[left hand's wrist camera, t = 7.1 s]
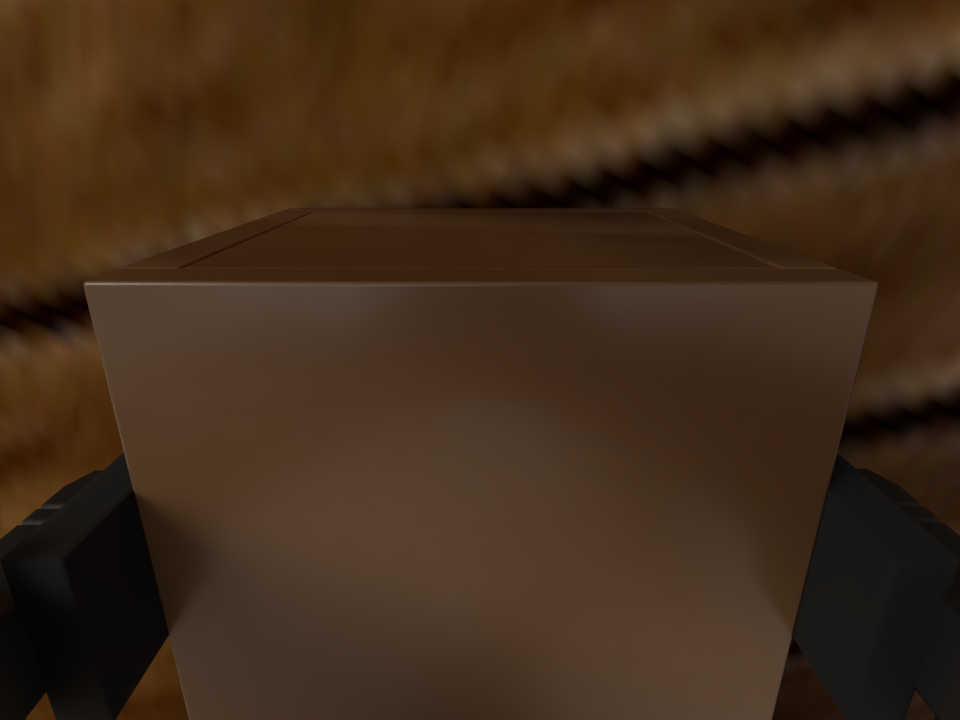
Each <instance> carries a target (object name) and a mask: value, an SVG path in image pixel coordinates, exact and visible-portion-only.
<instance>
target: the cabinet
mask: <svg viewBox="0 0 960 720" xmlns="http://www.w3.org/2000/svg"><path fill="white" fill-rule="evenodd" d="M83 286H84V290H85V294H86V298H87V303H88V307H89V311H90V315H91V319H92V323H93V327H94V331H95V335H96V339H97V344H98V348H99V352H100V356H101V360H102V364H103V368H104V372H105V376H106V381H107V385H108V389H109V393H110V397H111V401H112V405H113V409H114V413H115V417H116V422H117V426H118V430H119V434H120V438H121V442H122V446H123V450H124V454H125V458H126V463H127V467H128V471H129V475H130V479H131V483H132V487H133V491H134V495H135V499H136V504H137V508H138V512H139V516H140V520H141V524H142V528H143V532H144V536H145V540H146V545H147V549H148V553H149V557H150V561H151V565H152V569H153V573H154V577H155V582H156V586H157V590H158V594H159V598H160V602H161V606H162V610H163V614H164V618H165V623H166V627H167V631H168V635H169V639H170V643H171V647H172V651H173V655H174V659H175V664H176V668H177V672H178V676H179V680H180V684H181V688H182V692H183V696H184V700H185V705H186V709H187V713H188V717H189V720H772V717H773V712H774V708H775V704H776V700H777V696H778V692H779V688H780V684H781V680H782V676H783V672H784V668H785V664H786V660H787V655H788V651H789V647H790V643H791V639H792V635H793V631H794V627H795V623H796V619H797V615H798V611H799V607H800V603H801V598H802V594H803V590H804V586H805V582H806V578H807V574H808V570H809V566H810V562H811V558H812V554H813V550H814V546H815V541H816V537H817V533H818V529H819V525H820V521H821V517H822V513H823V509H824V505H825V501H826V497H827V493H828V489H829V484H830V480H831V476H832V472H833V468H834V464H835V460H836V456H837V452H838V448H839V444H840V440H841V436H842V432H843V428H844V423H845V419H846V415H847V411H848V407H849V403H850V399H851V395H852V391H853V387H854V383H855V379H856V375H857V371H858V366H859V362H860V358H861V354H862V350H863V346H864V342H865V338H866V334H867V330H868V326H869V322H870V318H871V314H872V309H873V305H874V301H875V297H876V293H877V289H878V283H877V282H875V281H873V280H870V279H868V278H865V277H862V276H859V275H856V274H854V273H851V272H848V271H845V270H842V269H838V268H835V267H833V266H830V265H827V264H825V263H822V262H819V261H816V260H813V259H811V258H808V257H805V256H802V255H799V254H797V253H794V252H791V251H788V250H786V249H783V248H780V247H777V246H774V245H772V244H769V243H766V242H763V241H760V240H758V239H755V238H752V237H749V236H746V235H744V234H741V233H738V232H735V231H732V230H730V229H727V228H724V227H721V226H718V225H716V224H713V223H710V222H707V221H705V220H702V219H699V218H696V217H693V216H691V215H688V214H685V213H682V212H679V211H677V210H674V209H671V208H290V209H287V210H284V211H282V212H278V213H275V214H272V215H269V216H266V217H264V218H261V219H258V220H255V221H252V222H250V223H247V224H244V225H241V226H238V227H235V228H233V229H230V230H227V231H224V232H221V233H218V234H216V235H213V236H210V237H207V238H204V239H201V240H199V241H196V242H193V243H190V244H187V245H184V246H182V247H179V248H176V249H173V250H170V251H167V252H165V253H162V254H159V255H156V256H153V257H151V258H148V259H145V260H142V261H139V262H136V263H134V264H131V265H128V266H125V267H123V268H120V269H117V270H115V271H112V272H109V273H106V274H103V275H101V276H98V277H95V278H92V279H89V280H87V281H85V282H84V285H83Z"/></svg>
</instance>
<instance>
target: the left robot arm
mask: <svg viewBox="0 0 960 720" xmlns="http://www.w3.org/2000/svg"><path fill="white" fill-rule="evenodd" d="M41 506H42V507H41V509H37V510H35V511H34V512H33V513H32V514H31V515H29V516H28V517H27V518H26V519H25V520H23V521H22V522H23V523H22V525H17V526H16V527H15V528H14V529H13V530H11V531H10V532H9V533H8V534H6V535H5V536H4V537H3V538H2V539H0V720H26V717H27V716H28V715H29V713H30V712H31V711H32V709H33V708H34V707H35V706H36V704H37V703H38V702H39V701H40V699H41V698H42V697H43V695H44V694H45V693H46V692H47V695H48V698H49V701H50V703H51V706H52V709H53V712H54V715H55V718H56V720H115V719H116V718H117V716H118V715H119V713H120V712H121V710H122V708H123V707H124V705H125V704H126V702H127V700H128V699H129V697H130V696H131V694H132V693H133V691H134V689H135V688H136V686H137V685H138V683H139V681H140V680H141V678H142V677H143V675H144V674H145V672H146V670H147V669H148V667H149V666H150V664H151V662H152V661H153V659H154V658H155V656H156V655H157V653H158V651H159V650H160V648H161V647H162V645H163V643H164V642H165V640H166V639H167V637H168V631H167V627H166V623H165V618H164V614H163V610H162V606H161V602H160V598H159V594H158V590H157V586H156V582H155V577H154V573H153V569H152V565H151V561H150V557H149V553H148V549H147V545H146V540H145V536H144V532H143V528H142V524H141V520H140V516H139V512H138V508H137V504H136V499H135V495H134V491H133V487H132V483H131V479H130V475H129V471H128V467H127V463H126V458H125V454H124V453H123V454H121V455H120V456H119V457H118V458H117V459H116V460H115V461H113V462H112V463H111V464H110V465H109V466H108V467H107V468H105V469H104V470H103V471H93V472H92V473H90V474H88V475H86V476H84V477H82V478H80V479H78V480H76V481H74V482H72V483H70V484H68V485H66V486H65V487H63V488H62V489H61V490H60V491H58V492H57V493H56V494H55V495H54V496H52V497H51V498H50V499H49V500H48V501H46V502H45V503H44V504H43V505H41ZM792 636H793V638H794V639H795V641H796V642H797V644H798V646H799V647H800V649H801V650H802V652H803V653H804V655H805V657H806V658H807V660H808V661H809V663H810V665H811V666H812V668H813V669H814V671H815V672H816V674H817V676H818V677H819V679H820V680H821V682H822V684H823V685H824V687H825V688H826V690H827V691H828V693H829V695H830V696H831V698H832V699H833V701H834V703H835V704H836V706H837V707H838V709H839V710H840V712H841V714H842V715H843V717H844V718H845V720H905V717H906V714H907V711H908V709H909V706H910V703H911V700H912V697H913V694H914V692H915V690H916V691H917V693H918V694H919V695H920V696H921V698H922V699H923V700H924V701H925V703H926V704H927V705H928V706H929V708H930V709H931V710H932V712H933V713H934V714H935V718H934V720H960V536H959V535H958V534H957V533H955V532H954V531H953V530H952V529H951V528H949V527H948V526H947V525H946V524H944V523H940V522H939V519H938V518H937V517H936V516H935V515H934V514H932V513H931V512H930V511H929V510H927V509H926V508H925V507H920V503H919V502H918V501H916V500H915V499H914V498H913V497H912V496H910V495H909V494H908V493H907V492H906V491H904V490H903V489H902V488H901V487H899V486H898V485H897V484H895V483H893V482H891V481H889V480H887V479H885V478H883V477H881V476H879V475H877V474H875V473H874V472H872V471H870V470H868V469H855V468H854V467H853V466H852V465H851V464H850V463H848V462H847V461H846V460H845V459H844V458H843V457H842V456H840V455H839V454H838V453H837V456H836V460H835V464H834V468H833V472H832V476H831V480H830V484H829V489H828V493H827V497H826V501H825V505H824V509H823V513H822V517H821V521H820V525H819V529H818V533H817V537H816V541H815V546H814V550H813V554H812V558H811V562H810V566H809V570H808V574H807V578H806V582H805V586H804V590H803V594H802V598H801V603H800V607H799V611H798V615H797V619H796V623H795V627H794V631H793V635H792Z"/></svg>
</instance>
